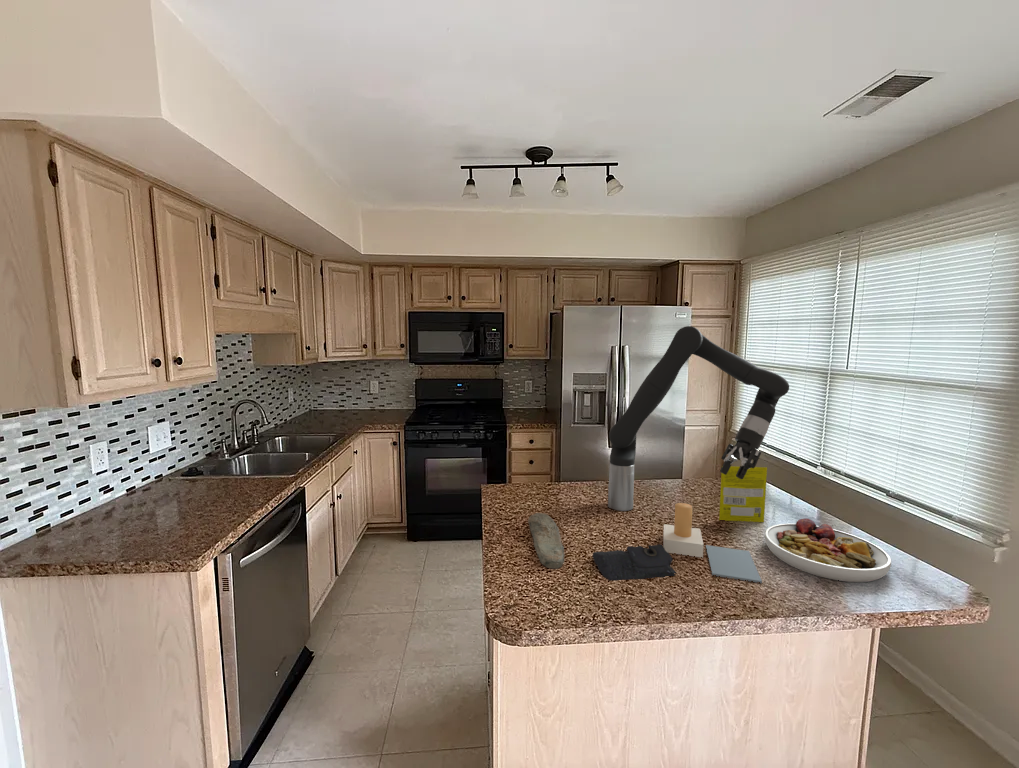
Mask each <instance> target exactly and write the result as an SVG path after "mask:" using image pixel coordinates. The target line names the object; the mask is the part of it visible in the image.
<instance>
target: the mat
mask: <svg viewBox="0 0 1019 768" xmlns="http://www.w3.org/2000/svg"><path fill="white" fill-rule="evenodd" d="M705 549H707V550H706V554H707V559H708V558H709V559H708V563H709V567H711V568H710V570H711V571H712V572H711V571H710V572H711V576H713V575H716V576H715V577H719V576H720V578H726V577H727V579H732V578H734V580H738V579H740V580H739V581H745V580H746V581H745V582H751V581H753V582H752V583H757V582H760V583H759V584H763V580H762V578H761V576H760V574H759V571H758V569H757V567H756V566H757V565H756V563H755V562H754V559H753V557H752V554H751V552H750V550H744V549H736V548H730V547H721V546H716V545H708V544H705ZM747 580H748V581H747Z"/></svg>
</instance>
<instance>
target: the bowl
mask: <svg viewBox="0 0 1019 768" xmlns="http://www.w3.org/2000/svg"><path fill="white" fill-rule="evenodd" d="M764 541H765V544H766V546H767V547H768V549H769V550H770V552H771V553H772V554H773V555H774V556H776V557H777V558H778V559H779V560H781V561H782V562H784V563H785V564H787V565H789V566H791V567H793V568H795V569H798V570H800V571H802V572H805V573H808V574H809V575H810V574H811V575H813V576H817V577H820V578H825V579H828V580H834V581H838V580H839V581H840V582H846V583H847V582H848V583H867V582H873V581H877V580H879V579H881V578H883V577H884V576H886V575H887V574H888V573H889V572H890V570H891V566H892V559H891V556H890V554H888V553H887V552H886V551H885V550H884V549H883V548H882V547H880V546H878V545H876V544H874V543H873V542H870V541H868V540H867V539H864V538H862V537H859V536H857V535H854V534H852V533H848V532H845V531H842V530H841V531H840V530H838V529H833V527H832V526H831V525H829V524H825V523H824V524H821V525H817V524H816V522H814V520H812V519H810V518H800V519H798V520H797V521H796V523H780V524H779V523H778V524H774V525H771V526H770V527H768V528H766V530H765V534H764Z"/></svg>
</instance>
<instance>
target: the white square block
mask: <svg viewBox="0 0 1019 768" xmlns="http://www.w3.org/2000/svg"><path fill="white" fill-rule="evenodd" d="M662 535H663V536H662V537H663V538H662V539H663V540H662V541H663V544H662V545H663V547H664V548H665V551H666V552H668V553H669V554H674V553H676V555H681V554H682V556H687V555H689V557H694V556H695V558H701V557H702V558H704V541H703V537H702V531H701V528H697V527H692V530H691V536H690V537H680V536H677V535H675V534H674V525H673V524H665V523H664V524H663V533H662Z"/></svg>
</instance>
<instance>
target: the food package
mask: <svg viewBox="0 0 1019 768" xmlns="http://www.w3.org/2000/svg"><path fill="white" fill-rule="evenodd" d="M739 468H740V466H735V465H734V466H732V465H731V467H730V469H729V471H728V473H727V474H723V473H721V472H720V476H721V477H720V493H719V495H720V497H719V515H718V521H720V520H725V521H724V522H726V521H727V522H744V521H745V522H748V523H764V522H765V514H766V513H765V511H766V510H765V509H766V495H767V493H766V492H767V477H768V467H767V466H766V467H762V466H755V468H750V469H748V470H747V472H746V474H745V476H744V478H743V479H740V478H738V477H736V474H737V472H738V470H739Z"/></svg>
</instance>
